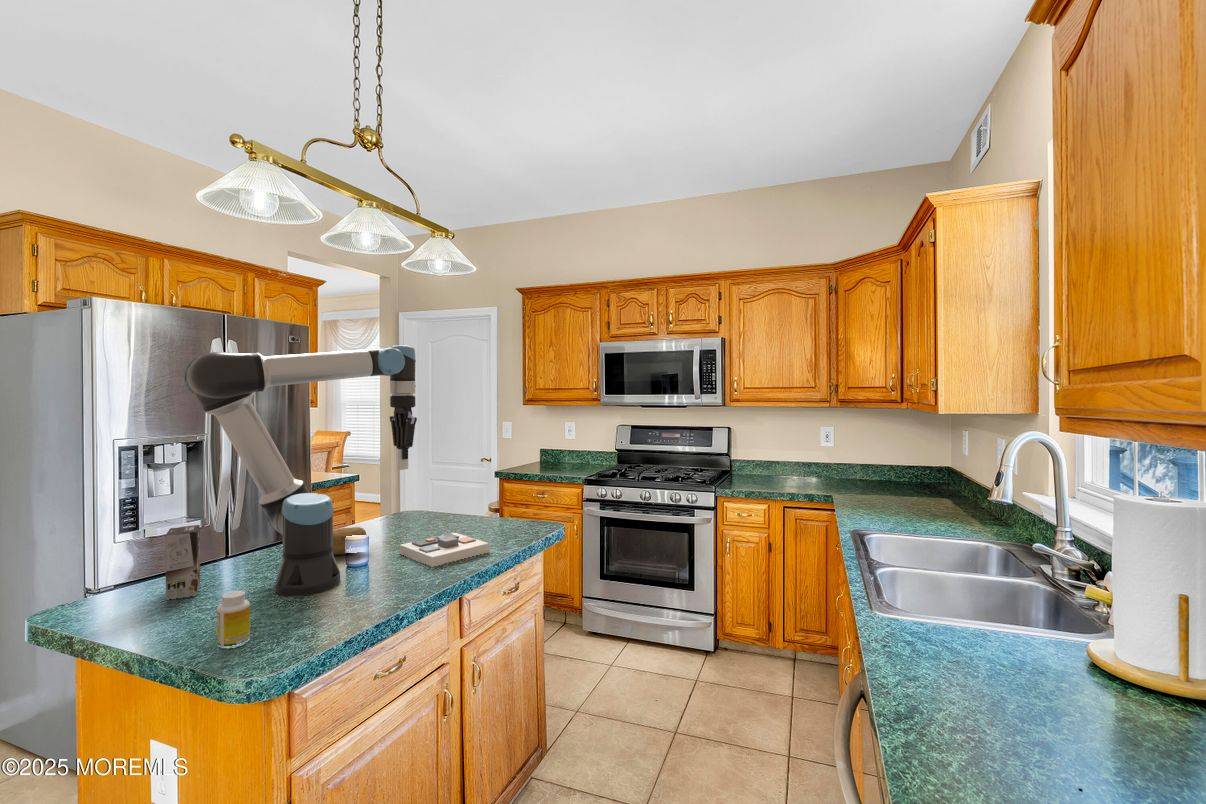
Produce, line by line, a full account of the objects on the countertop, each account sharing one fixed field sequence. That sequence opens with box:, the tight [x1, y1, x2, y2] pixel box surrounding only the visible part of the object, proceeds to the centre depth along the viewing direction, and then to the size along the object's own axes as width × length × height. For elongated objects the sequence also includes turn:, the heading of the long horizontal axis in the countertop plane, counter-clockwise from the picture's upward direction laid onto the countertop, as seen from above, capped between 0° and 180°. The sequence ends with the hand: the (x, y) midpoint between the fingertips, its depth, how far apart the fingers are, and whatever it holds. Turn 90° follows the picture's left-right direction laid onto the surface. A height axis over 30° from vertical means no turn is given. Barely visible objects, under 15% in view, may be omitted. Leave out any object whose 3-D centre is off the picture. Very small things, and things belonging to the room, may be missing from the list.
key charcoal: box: [438, 536, 458, 548], centre depth 172 cm, size 4×4×3 cm
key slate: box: [419, 545, 440, 553], centre depth 167 cm, size 4×4×3 cm
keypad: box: [399, 532, 490, 568], centre depth 173 cm, size 20×19×4 cm
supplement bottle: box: [216, 590, 251, 646], centre depth 111 cm, size 6×6×10 cm
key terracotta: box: [458, 536, 476, 544], centre depth 177 cm, size 4×4×3 cm
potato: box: [333, 526, 367, 556], centre depth 172 cm, size 10×14×8 cm
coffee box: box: [165, 524, 201, 601], centre depth 139 cm, size 9×6×16 cm
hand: (403, 469), depth 174 cm, fingers closed
